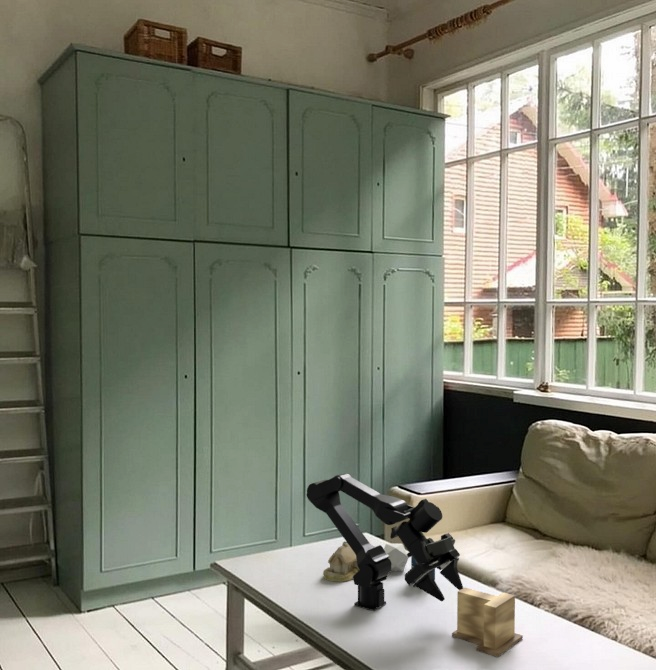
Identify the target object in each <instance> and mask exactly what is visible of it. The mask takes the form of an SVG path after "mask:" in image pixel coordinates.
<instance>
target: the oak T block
mask: <svg viewBox="0 0 656 670" xmlns="http://www.w3.org/2000/svg"><path fill="white" fill-rule="evenodd" d="M456 595H457V598H456V599H457V600H456V601H457V603H456V604H457V609H456V610H457V612H456V614H457V615H456V616H457V617H456V620H457V621H456V622H457V623H456V625H457V627H456V630H457V632H460V633H463V634H467V635H470V636H473V637H476V638H480V639H483V640H484V646H485V647H488V648H491V649H494V650H496V649H497V648H498V647H500V646H501V645H503V644H504V643H505V642H507V641H508V640H510V639H511V638H512V637H514V636H515V632H516V631H515V629H516V627H515V626H516V625H515V624H516V623H515V622H516V621H515V619H516V595H515V594H511V593H507V592H502V593H500V594H499V595H495V594H490V593H488V592H487V593H486V592H483V591H479V590H476V589H472V588H468V587H463V589H461V590H457V594H456Z"/></svg>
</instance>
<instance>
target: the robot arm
mask: <svg viewBox="0 0 656 670" xmlns="http://www.w3.org/2000/svg"><path fill="white" fill-rule="evenodd" d="M339 492H341V493H343V494H345V495H347V496H348V497H351V498H352V499H354V500H355V501H357V502H359V503H360V504H362V505H363V506H366V507H368V508H369V509H371V510H372V511H373V513H374V515H375V516H376V518H378V519H379V520H380V521H381V522H383V524H385V525H386V526H393V525H395V524H398V523H400V522H401V523H400V524H398V526H397V525H396V526H393V527H391V530H390V531H391V532H390V539H391V540H392V539H395V538H399V540H400V541H401V542H402V543H401V544H403V546H404V548H405V549H406V551H408V552H407V556H408V557H409V558H411V556H412V557H413V558H414V560H415V561H416V563H417V564H416V565H415V566H414V567H412V568H411V567H410V569H409V570H407V572H406V573H405V574H404V581H405V582H406V584H407V585H408V586H412V587H413V588H417V589H418V590H419V589H420V590H422V591H423V592H425V593H427V594H428V595H430V596H432V597H433V598H435V599H437V600H438V601H440V602H444V601H445V596H444V594H443V593H442V591H441V589H440V587H439V585H438V584H437V583H436V580H435V581H434V579H433V569H435V570H436V569H437V570H439V574H440V575H442V577H444V578H445V580H447V581H448V582H449V583H450V584H452V586H454V587H455V588H456V589H457V591H459V590H461V589H463V588H464V586H463V582H462V580H461V577H460V574H459V570H458V562H459V561H460V556H461V554H460V552H459V551H458V550H457V548H455V546H454V545H455V543H456V539H455V538H454V537H453V536H452V534H451V533H449V532H448V533H443V534H442V535H440V539H439V540H436V541H434V539H433V538H431V537H428V538H427V537H426V536H425V534H427V533H428V532H429V531H430V530H432V529H433V528H434V527H435V526H436V525H437V524H438V523H439V522H440V521H442V520H443V513H442V511H441V509H440V508H439V506H437V504H436V505H435V504H434V503H433V502H430V501H428V500H427V498H423V499H421V500H419V502H418V503H417V504H416V506H412V505H410V504H408V503H407V502H406V501H405V500H404V499H401V498H399V497H396V496H392V495H391V496H390V495H385V494H382V493H380V492H378V491H376V490H375V489H373V488H372V487H370V486H368V485H366V484H364V483H362V482H361V481H359V480H357V479H356V478H353V476H351V475H350V473H349V474H348V473H346V472H345V473H340V474H337V475H334V476H333V477H332V478H329V479H323V480H320V481H316V482H313V483H312V482H311V483H309V484H308V486H307V489H306V494H305V495H306V498H307V499H308V501H309V502H310V503H311V505H313V506H314V508H316V509H317V510H319V511H320V512H323V513H325V514H326V515H327V517H328V518H329V519H330V521H331V522H332V524H333V525H334V526H335V528H336V529H337V530H338V532H339V533H340V535H341V536H342V538H343V539H344V541H345V542H347V543H348V545H349V546H350V547H351V549H352V550H353V552H354V553H355V555H356V559H357V566H358V568H359V571H358V572H357V573H356V574H355V575H354V576H353V579H352V580H353V584H354V586H355V585H356V586H357V601H355V602H354V606H355V607H359V608H364V609H367V610H370V611H375V610H377V609H379V608H381V607H383V606H384V605H386V604H387V601H385V589H384V582H383V581H386V580H387V578H388V577H389V574H390V573H391V572H392V571H391V565H392V563H391V561H390V559H389V557H390V556H389V555H388V554H387V553H386V552H385V551H384V547H383V546H382V545H380V544H379V545H377V546H375V545H373V544H371V543H370V542H369V540H368V539H367V538H366V536H365V535H364V534H363V533H364V532H362V531H361V529H360V527H359V526H358V525H357V524H356V522H355V521H354V520H353V519H352V517H351V515H350V514H349V513H348V511H347V510H346V508H344V506H343V505H342V503H341V497H340V493H339ZM407 519H408V520H407ZM406 520H407V521H406ZM434 564H435V565H434ZM431 570H432V571H431ZM429 571H430V572H429ZM415 582H416V583H415ZM414 583H415V584H414Z"/></svg>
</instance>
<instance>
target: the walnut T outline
mask: <svg viewBox="0 0 656 670" xmlns="http://www.w3.org/2000/svg"><path fill="white" fill-rule="evenodd" d="M451 636H452V637H453V638H458V639H460V640H464V641H466V642H470V643H472V644H476V645H478V646H476V651H478V652H481V653H484V654H486V655H490V656H494V657H496V658H499V657H500V656H501V654H502V655H503V654H505V653H506V652H507V651H508V650H510V649H511V648H513V645H514V646H515V645H516V644H518V643H519V642H520V641H522V640H523V639H522V638H523V637H524V635H523V634H519V633H515V636H514V637H512V638H511V639H510V640H508V641H507V642H505V643H504V644H503V645H501V646H500V647H498V648H497V649H496V650H494V649H491V648H488V647H485V646H484V640H483V639H480V638H476V637H473V636H470V635H467V634H463V633H460V632H457V629H456V630H454V631H453V632H452V633H451ZM521 639H522V640H521ZM518 641H519V642H518ZM517 642H518V643H517ZM510 647H511V648H510ZM509 648H510V649H509ZM506 650H507V651H506ZM505 651H506V652H505Z"/></svg>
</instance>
